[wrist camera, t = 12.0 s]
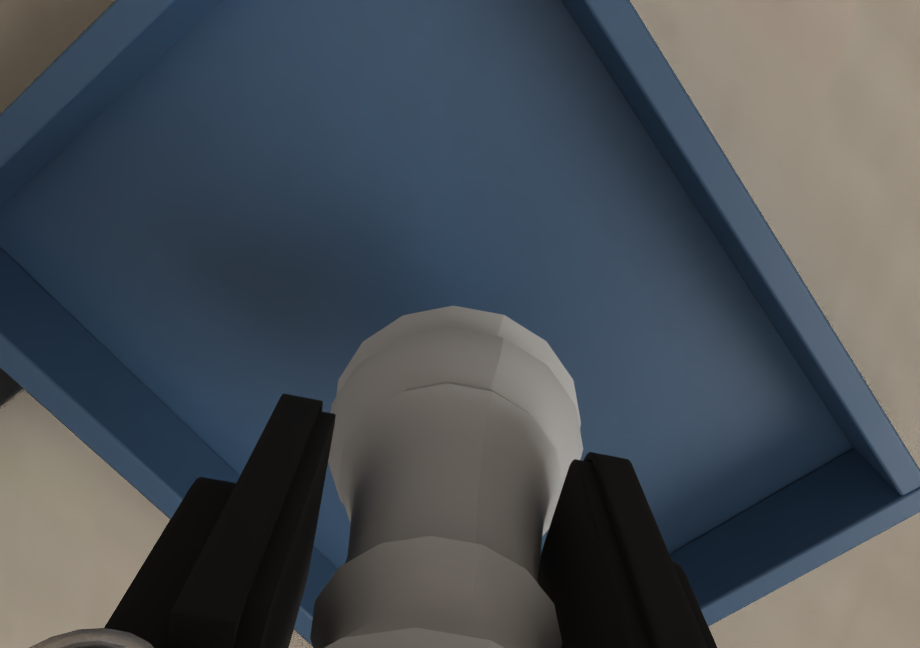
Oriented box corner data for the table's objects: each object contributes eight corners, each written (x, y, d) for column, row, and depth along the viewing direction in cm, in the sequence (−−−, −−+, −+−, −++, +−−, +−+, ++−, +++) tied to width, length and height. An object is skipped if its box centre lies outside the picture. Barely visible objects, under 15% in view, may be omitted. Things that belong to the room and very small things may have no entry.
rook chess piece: (384, 259, 12) (206, 583, 4) (619, 350, 12) (816, 788, 5) (308, 466, 14) (82, 964, 6) (520, 540, 14) (555, 1096, 6)
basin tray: (-45, 217, 15) (-138, 247, 13) (439, -246, 12) (434, -318, 10) (449, 684, 20) (448, 768, 18) (875, 440, 17) (941, 502, 15)
